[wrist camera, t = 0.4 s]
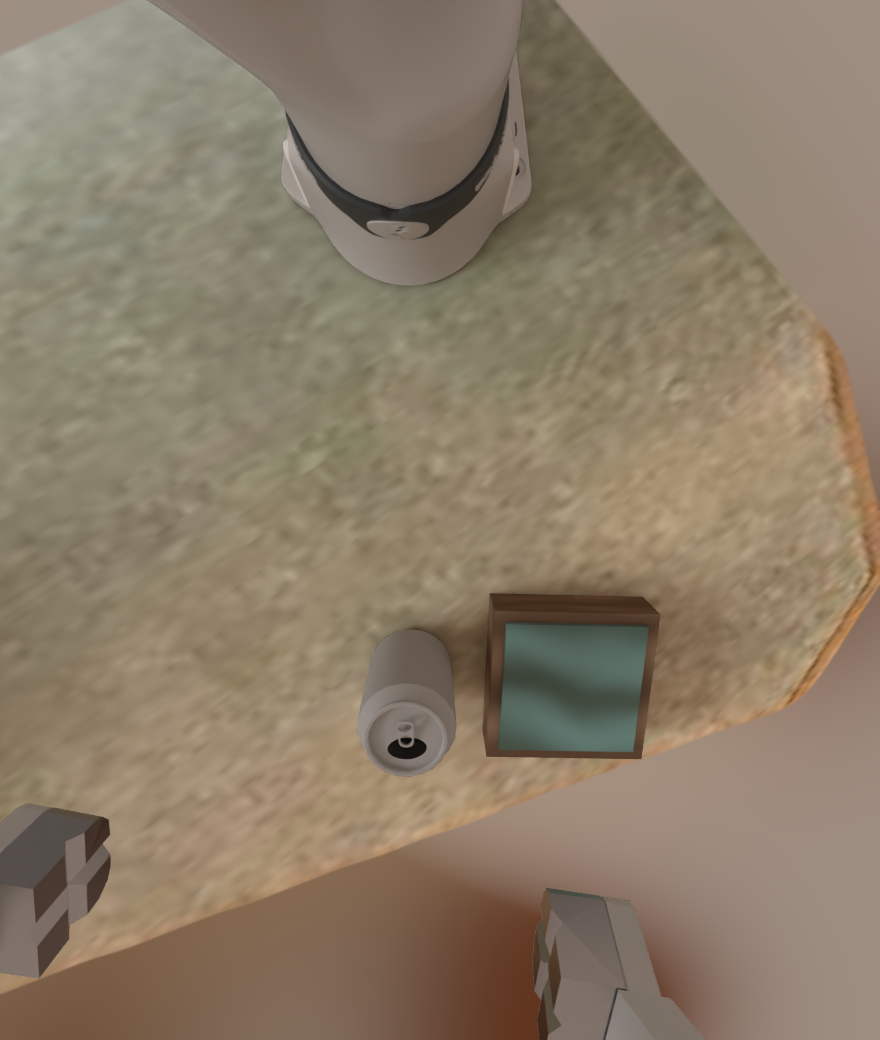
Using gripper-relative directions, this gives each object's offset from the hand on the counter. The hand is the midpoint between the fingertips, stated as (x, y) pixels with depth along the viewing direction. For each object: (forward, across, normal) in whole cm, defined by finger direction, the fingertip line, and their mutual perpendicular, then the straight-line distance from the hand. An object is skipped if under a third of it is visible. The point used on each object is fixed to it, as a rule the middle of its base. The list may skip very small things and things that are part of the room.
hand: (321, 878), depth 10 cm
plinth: (+40, -13, +15) cm, 44 cm away
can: (+39, +1, +16) cm, 42 cm away
